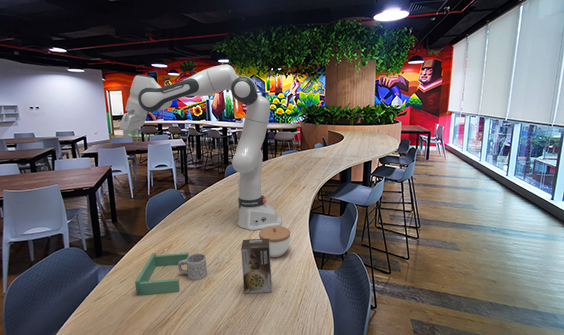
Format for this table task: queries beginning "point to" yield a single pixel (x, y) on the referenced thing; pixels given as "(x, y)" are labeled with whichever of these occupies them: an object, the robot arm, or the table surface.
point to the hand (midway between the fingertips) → (129, 137)
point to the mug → (194, 266)
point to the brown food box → (256, 265)
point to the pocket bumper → (160, 285)
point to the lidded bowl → (276, 239)
